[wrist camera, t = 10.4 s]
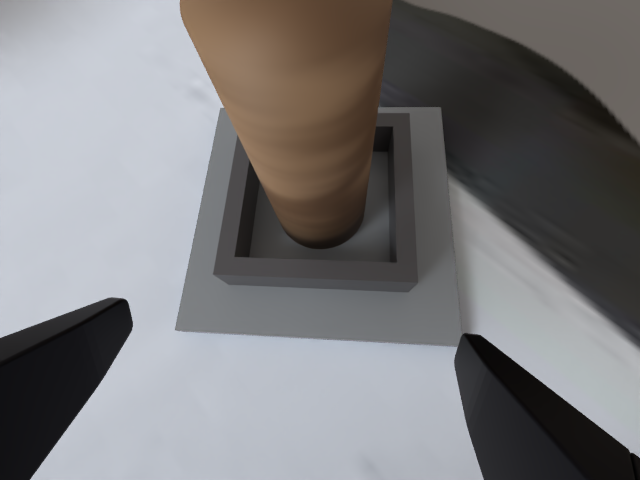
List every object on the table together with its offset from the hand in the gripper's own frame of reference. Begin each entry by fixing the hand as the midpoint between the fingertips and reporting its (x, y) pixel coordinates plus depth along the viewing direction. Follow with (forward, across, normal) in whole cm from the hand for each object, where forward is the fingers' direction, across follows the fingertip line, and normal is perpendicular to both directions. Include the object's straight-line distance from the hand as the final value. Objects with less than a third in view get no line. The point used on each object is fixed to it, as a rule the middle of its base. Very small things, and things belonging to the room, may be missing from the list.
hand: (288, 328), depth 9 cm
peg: (+13, 0, +1) cm, 13 cm away
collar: (+13, 0, +1) cm, 13 cm away
